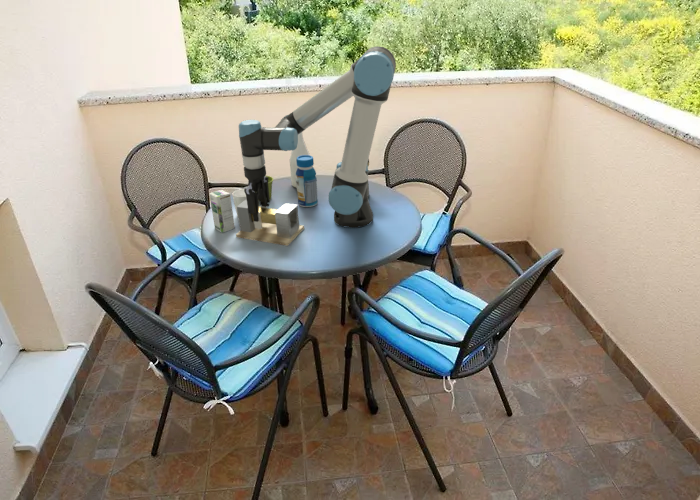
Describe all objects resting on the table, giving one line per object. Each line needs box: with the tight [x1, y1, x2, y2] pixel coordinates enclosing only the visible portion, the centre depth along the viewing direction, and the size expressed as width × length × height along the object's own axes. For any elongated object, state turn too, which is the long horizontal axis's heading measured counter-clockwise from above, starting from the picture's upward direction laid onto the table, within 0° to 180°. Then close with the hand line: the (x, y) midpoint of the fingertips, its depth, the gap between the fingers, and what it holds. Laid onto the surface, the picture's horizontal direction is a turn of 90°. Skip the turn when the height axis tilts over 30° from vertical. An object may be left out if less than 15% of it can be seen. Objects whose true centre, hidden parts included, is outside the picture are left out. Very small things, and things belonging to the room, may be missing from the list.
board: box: [235, 223, 305, 247], centre depth 190 cm, size 21×14×1 cm, turn 70°
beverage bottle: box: [296, 154, 319, 208], centre depth 207 cm, size 8×8×20 cm
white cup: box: [231, 188, 246, 218], centre depth 201 cm, size 8×8×10 cm
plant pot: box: [265, 175, 274, 200], centre depth 215 cm, size 9×9×9 cm
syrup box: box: [209, 189, 236, 234], centre depth 191 cm, size 6×6×14 cm
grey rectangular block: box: [275, 202, 300, 239], centre depth 185 cm, size 5×8×10 cm, turn 160°
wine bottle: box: [289, 132, 311, 189], centre depth 222 cm, size 10×10×30 cm
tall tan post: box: [251, 206, 278, 224], centre depth 187 cm, size 14×4×4 cm, turn 70°
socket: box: [236, 199, 255, 232], centre depth 190 cm, size 4×8×10 cm, turn 160°
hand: (261, 225), depth 190 cm, fingers closed on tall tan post, 4 cm apart
